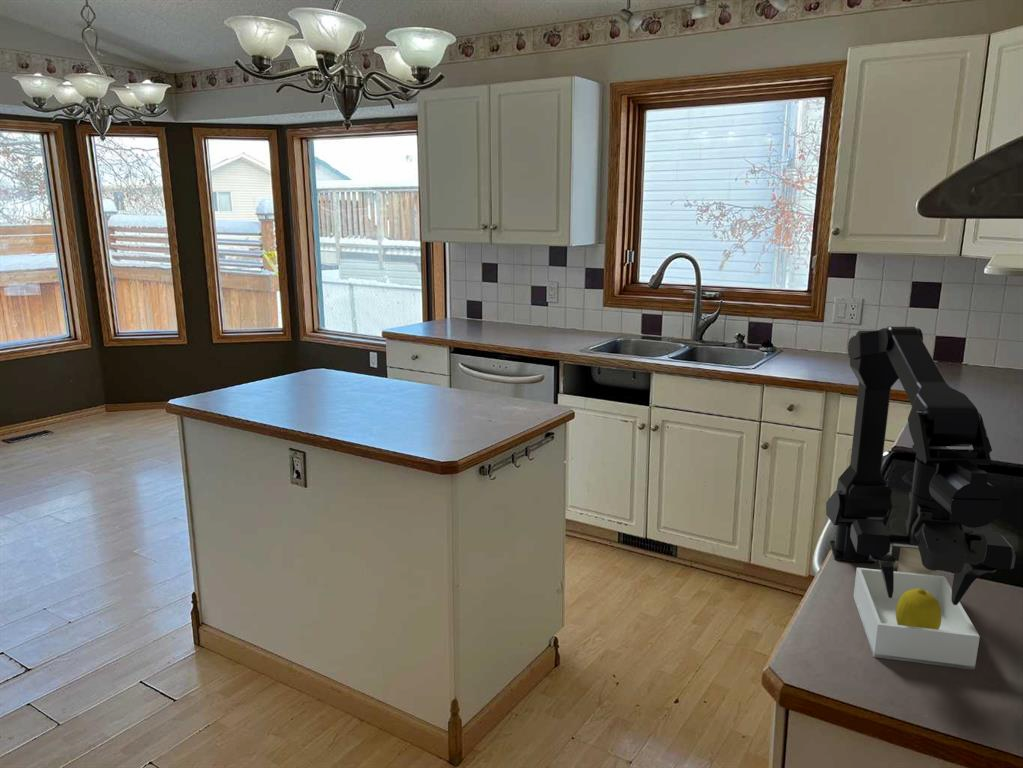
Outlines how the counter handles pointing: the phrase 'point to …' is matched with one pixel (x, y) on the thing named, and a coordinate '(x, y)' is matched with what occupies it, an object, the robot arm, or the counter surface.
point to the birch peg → (911, 562)
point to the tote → (910, 643)
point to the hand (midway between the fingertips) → (921, 600)
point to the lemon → (918, 610)
